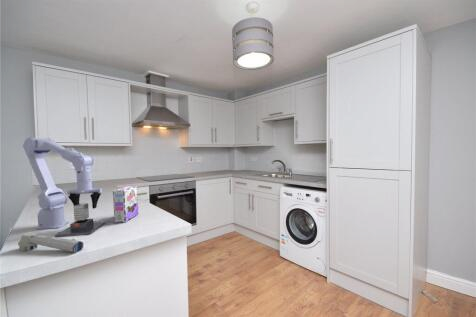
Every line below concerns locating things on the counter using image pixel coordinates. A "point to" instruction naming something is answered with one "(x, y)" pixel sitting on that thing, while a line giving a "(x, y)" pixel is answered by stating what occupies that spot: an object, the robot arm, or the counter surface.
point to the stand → (81, 228)
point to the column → (81, 211)
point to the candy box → (125, 204)
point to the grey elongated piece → (48, 243)
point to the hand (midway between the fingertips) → (86, 208)
